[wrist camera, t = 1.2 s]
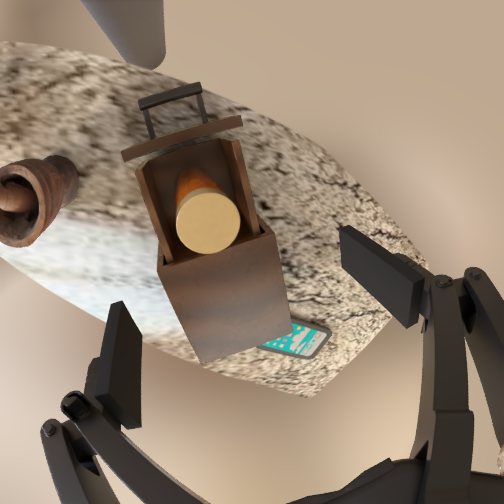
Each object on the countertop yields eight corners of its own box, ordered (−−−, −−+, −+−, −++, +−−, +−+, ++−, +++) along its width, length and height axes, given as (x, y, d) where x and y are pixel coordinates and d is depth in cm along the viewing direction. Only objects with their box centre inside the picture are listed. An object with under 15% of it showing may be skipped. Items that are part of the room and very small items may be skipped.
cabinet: (158, 235, 40) (156, 271, 30) (250, 206, 42) (274, 232, 32) (193, 318, 47) (201, 364, 38) (270, 293, 49) (293, 332, 40)
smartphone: (311, 361, 58) (252, 348, 52) (309, 358, 59) (251, 345, 53) (335, 331, 56) (277, 313, 50) (333, 328, 57) (275, 310, 50)
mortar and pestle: (14, 205, 31) (-65, 267, 14) (17, 147, 28) (-74, 176, 11) (79, 213, 35) (19, 288, 18) (86, 152, 32) (13, 182, 15)
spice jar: (177, 164, 34) (180, 188, 21) (217, 169, 36) (246, 197, 23) (171, 203, 36) (172, 251, 23) (210, 207, 38) (234, 256, 25)
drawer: (122, 110, 30) (107, 106, 23) (216, 82, 32) (229, 70, 24) (165, 244, 40) (165, 275, 32) (249, 217, 41) (269, 241, 34)
